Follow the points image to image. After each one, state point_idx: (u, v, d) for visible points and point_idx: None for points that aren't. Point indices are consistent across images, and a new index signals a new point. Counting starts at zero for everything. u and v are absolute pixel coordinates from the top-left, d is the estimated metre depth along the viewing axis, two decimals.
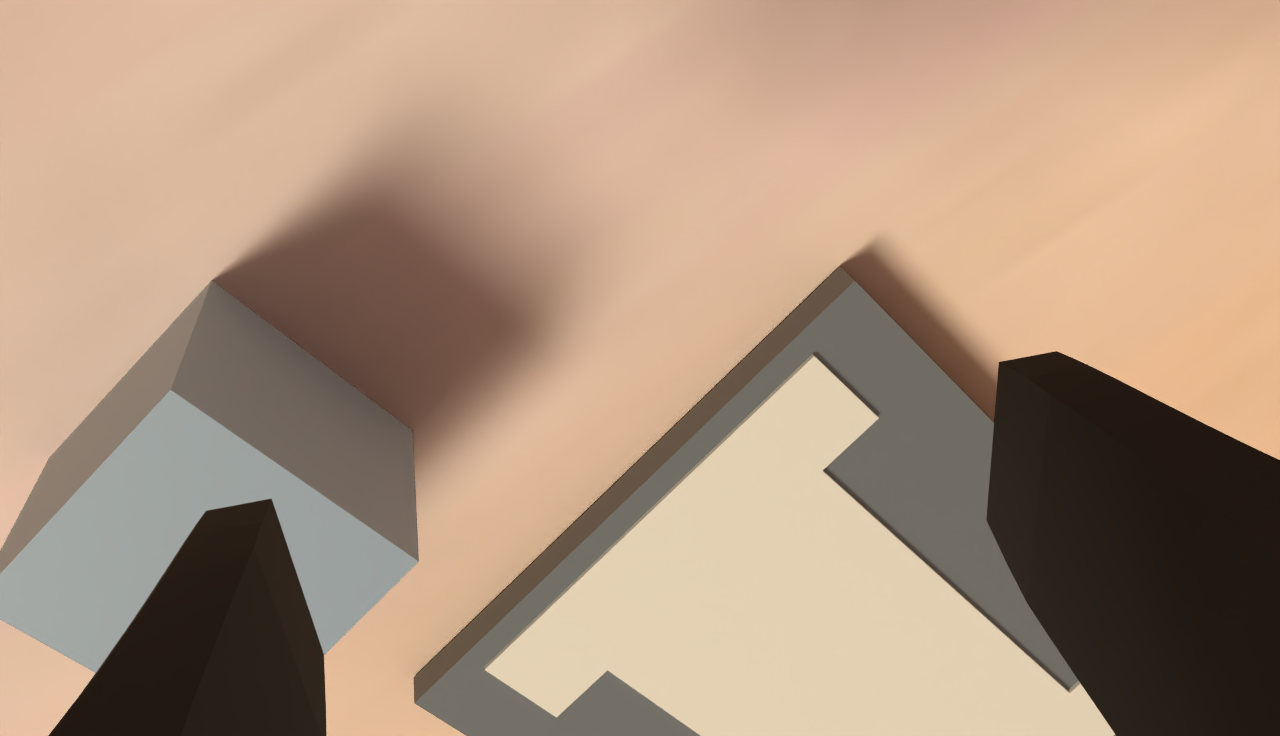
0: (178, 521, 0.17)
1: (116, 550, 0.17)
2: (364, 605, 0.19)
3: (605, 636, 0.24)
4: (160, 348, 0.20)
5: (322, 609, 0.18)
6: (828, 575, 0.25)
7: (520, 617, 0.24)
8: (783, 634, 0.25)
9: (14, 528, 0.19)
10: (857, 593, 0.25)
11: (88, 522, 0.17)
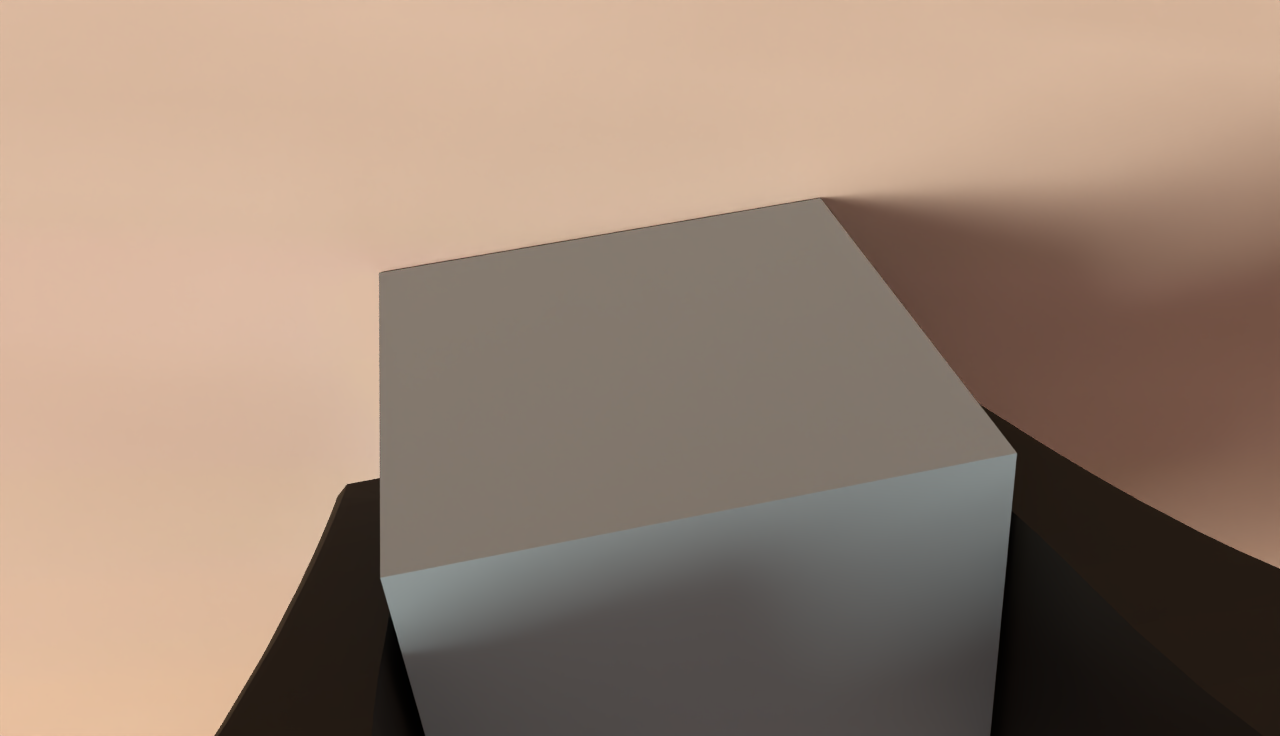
0: (800, 635, 0.09)
1: (675, 625, 0.09)
2: None
3: None
4: (742, 264, 0.11)
5: None
6: None
7: None
8: None
9: (397, 417, 0.10)
10: None
11: (689, 563, 0.08)
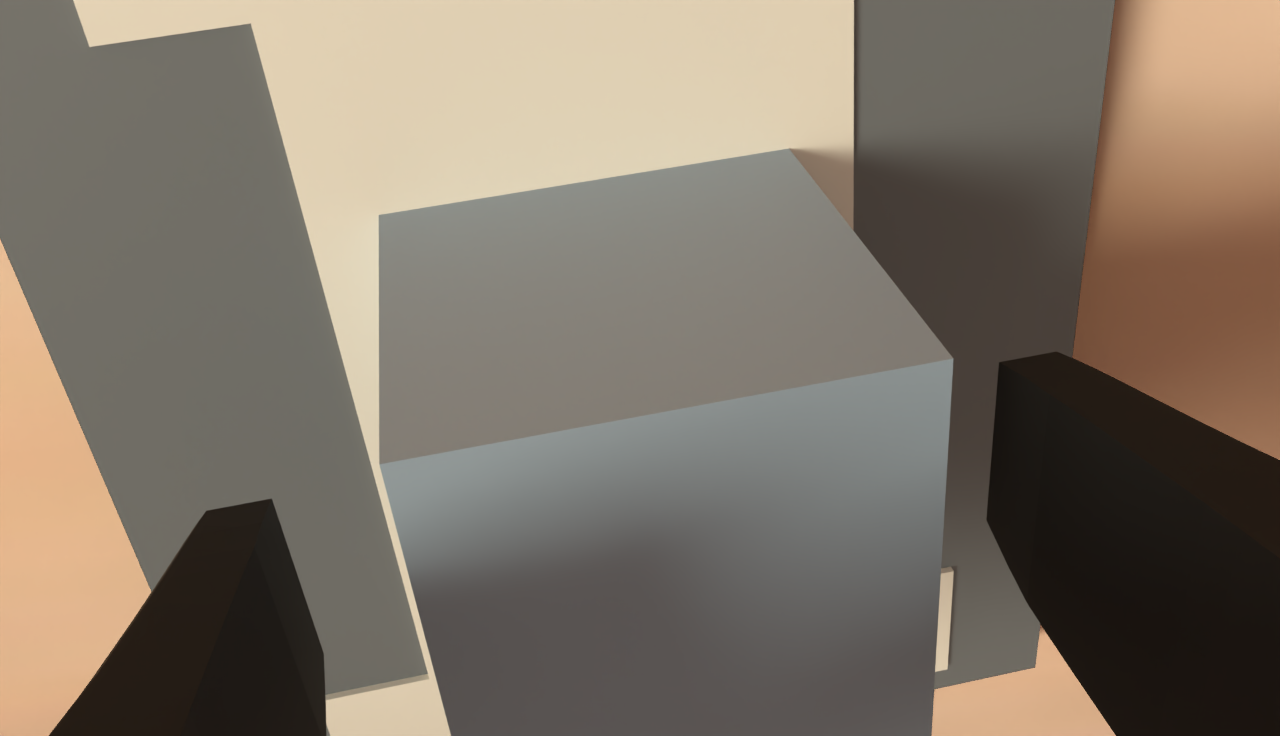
0: (760, 529, 0.10)
1: (646, 516, 0.10)
2: None
3: None
4: (714, 205, 0.12)
5: (775, 735, 0.11)
6: (714, 146, 0.13)
7: None
8: None
9: (395, 335, 0.11)
10: None
11: (657, 457, 0.09)
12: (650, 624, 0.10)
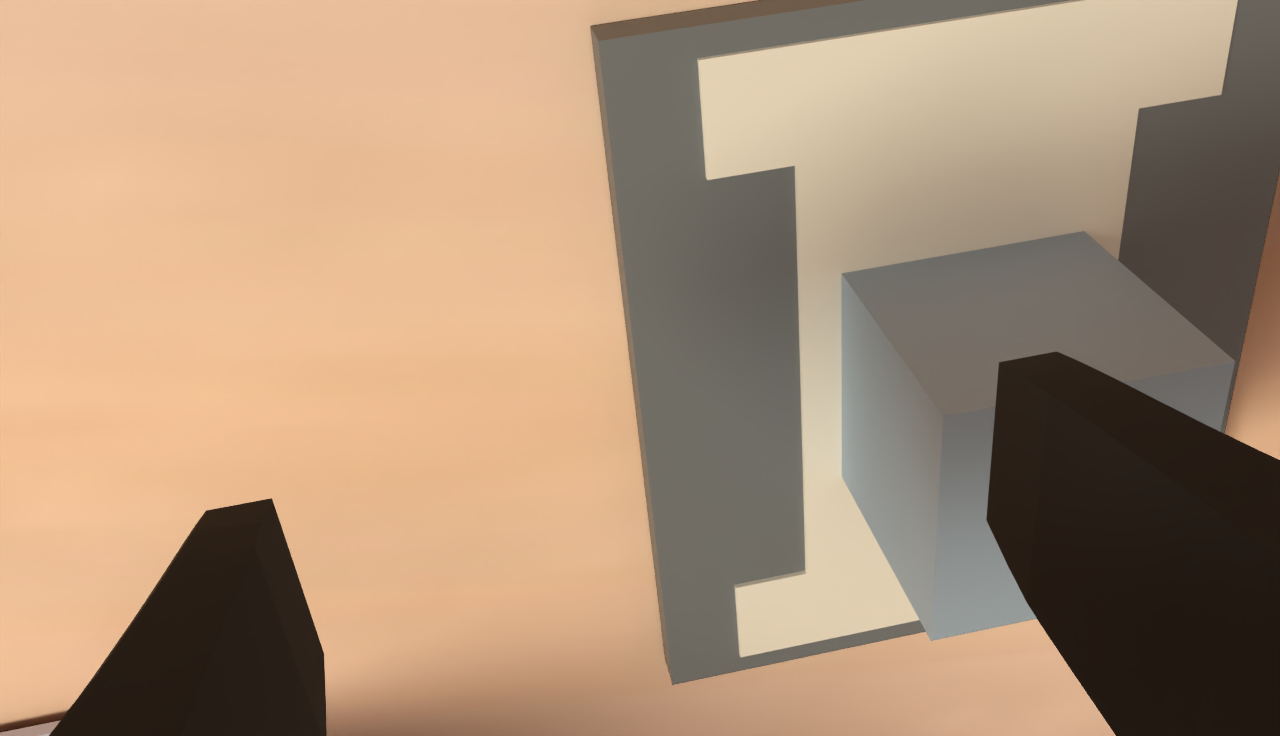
0: None
1: None
2: None
3: (829, 123, 0.19)
4: (1055, 269, 0.20)
5: None
6: (1039, 230, 0.21)
7: (778, 30, 0.18)
8: None
9: (904, 347, 0.19)
10: None
11: None
12: None
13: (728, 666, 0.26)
